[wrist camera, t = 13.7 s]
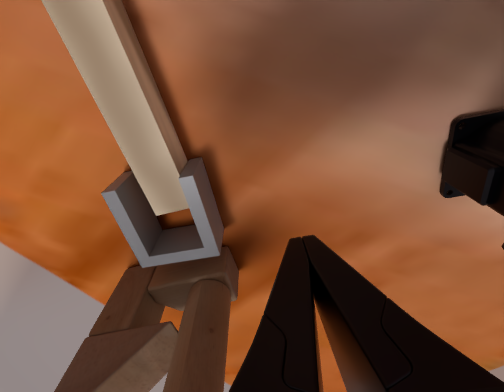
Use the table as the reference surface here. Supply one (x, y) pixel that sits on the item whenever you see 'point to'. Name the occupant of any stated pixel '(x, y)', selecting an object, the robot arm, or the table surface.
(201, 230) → the endcap
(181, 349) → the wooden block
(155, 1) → the table surface
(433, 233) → the table surface
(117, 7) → the slat
